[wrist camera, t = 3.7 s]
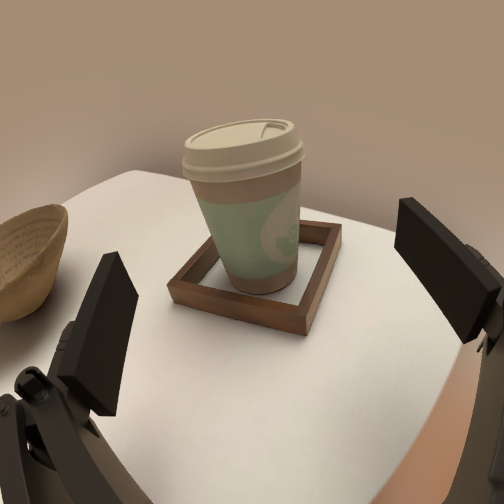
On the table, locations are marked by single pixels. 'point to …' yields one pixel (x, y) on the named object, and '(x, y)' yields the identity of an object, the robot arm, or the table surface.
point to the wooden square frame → (253, 307)
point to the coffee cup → (250, 198)
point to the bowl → (30, 259)
